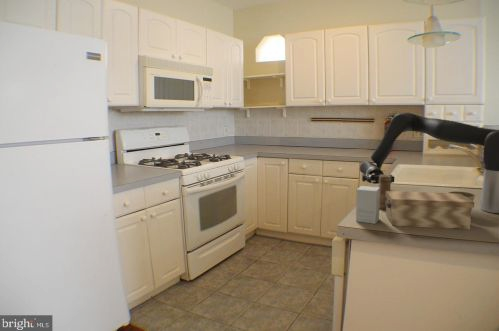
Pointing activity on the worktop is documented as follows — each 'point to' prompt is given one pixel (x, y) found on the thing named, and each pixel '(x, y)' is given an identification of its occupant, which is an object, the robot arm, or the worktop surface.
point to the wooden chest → (428, 209)
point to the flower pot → (465, 194)
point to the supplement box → (367, 204)
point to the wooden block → (384, 189)
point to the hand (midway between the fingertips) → (380, 181)
